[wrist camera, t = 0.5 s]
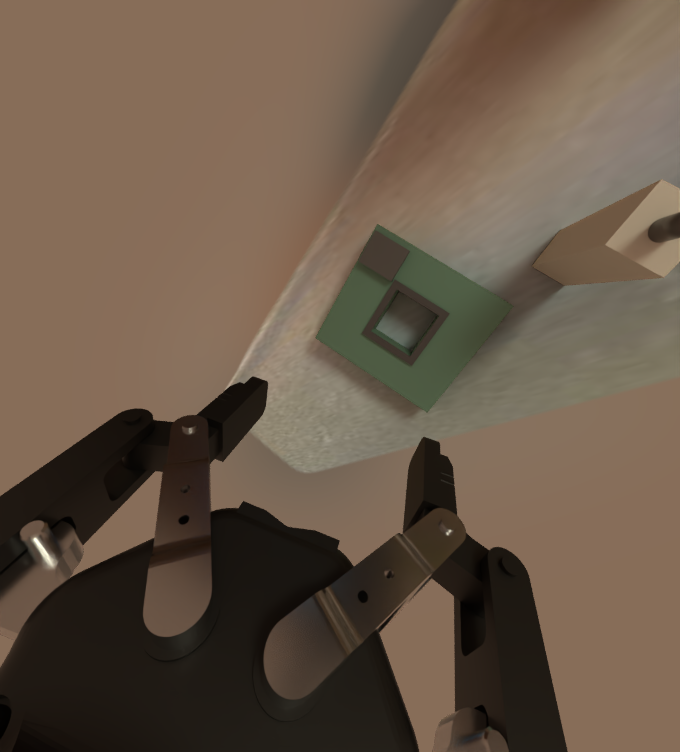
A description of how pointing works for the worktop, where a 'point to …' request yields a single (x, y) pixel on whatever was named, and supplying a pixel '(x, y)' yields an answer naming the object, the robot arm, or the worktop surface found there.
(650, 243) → the plug
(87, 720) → the robot arm
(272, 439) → the worktop surface
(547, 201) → the worktop surface
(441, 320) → the green square socket base
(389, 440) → the worktop surface
